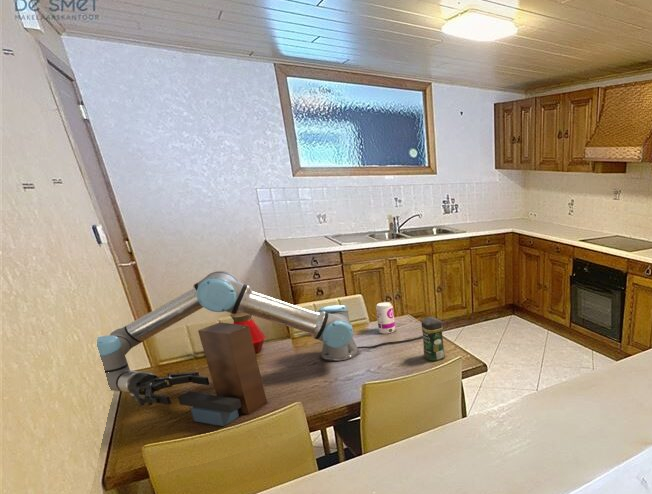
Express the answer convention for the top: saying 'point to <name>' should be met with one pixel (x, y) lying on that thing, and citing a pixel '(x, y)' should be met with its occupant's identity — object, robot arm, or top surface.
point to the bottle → (254, 329)
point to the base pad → (213, 416)
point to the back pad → (210, 401)
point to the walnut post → (233, 364)
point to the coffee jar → (432, 338)
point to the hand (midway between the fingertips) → (189, 390)
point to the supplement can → (385, 317)
